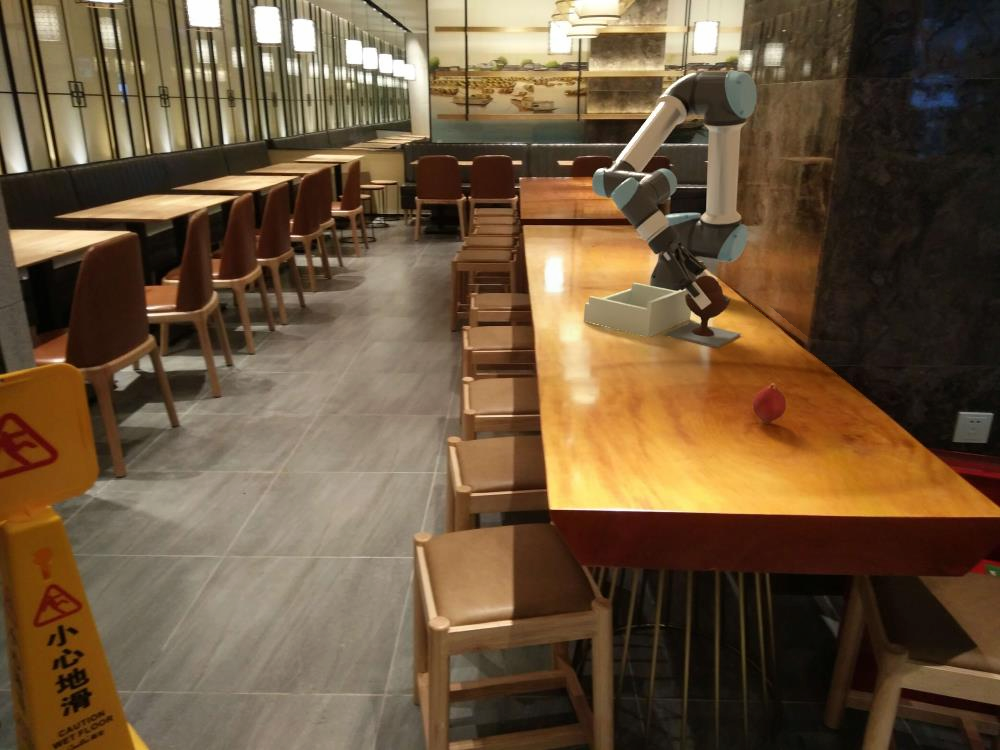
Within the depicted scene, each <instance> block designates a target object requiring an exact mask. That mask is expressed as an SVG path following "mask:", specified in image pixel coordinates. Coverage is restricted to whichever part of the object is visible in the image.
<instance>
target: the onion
mask: <svg viewBox="0 0 1000 750" xmlns="http://www.w3.org/2000/svg"><path fill="white" fill-rule="evenodd" d="M776 385H777V384H775V383H771V384H770V385H768V386H766V387H763V388H762V389H760V390H759V391H758V392H757V393H756V394H755V396H753V398H752V408H753V409H752V410H753V411H754V414H755V415H756V416H757V417H758V418H759V419H760V420H761V421H762V423H764V424H770V423H773V422H774V421H776V420H777V419H779V418H781V417H782V416H783V415H784V414H785V411H786V409H787V403H786V397H785V396H784V395H783V392H781V391H780V390H779V389H778V388H777V386H776Z"/></svg>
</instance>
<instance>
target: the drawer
mask: <svg viewBox="0 0 1000 750" xmlns="http://www.w3.org/2000/svg"><path fill="white" fill-rule="evenodd" d="M686 294H688V292H687V291H686V289H684V290H679V291H674V290H669V289H664V288H659V287H654V286H652V285H650V284H643V283H638V282H632V283H631V288H629V289H625V290H622V291H619V292H617V293H616V292H614V293H613V294H610V295H606V296H604V297H599V296H593V295H592V296H591V295H590V296H589V298H588V302H585V303H584V311H583V312H584V313H583V322H584V321H587V322H591V323H595V324H599V325H603V326H602V327H604V326H607V327H606V328H608V327H610V328H609V329H612V328H614V329H613V330H616V329H619V330H618V331H620V330H622V331H621V332H624V331H627V332H626V333H628V332H631V333H630V334H632V333H634V334H633V335H636V334H638V335H637V336H640V335H642V336H641V337H644V336H645V338H650V337H652V335H653V336H654V335H656V334H659V333H662V332H665V331H666V330H668V329H671V328H673V327H675V325H676V326H678V325H680V324H683V323H684V322H687V321H689V320H691V316H692V315H691V313H692V311H691V310H690V309H689V307H688V306H687V304H686V300H685V295H686ZM587 322H586V323H587ZM591 323H590V324H591ZM595 324H594V325H595ZM599 325H598V326H599Z"/></svg>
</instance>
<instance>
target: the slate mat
mask: <svg viewBox="0 0 1000 750" xmlns="http://www.w3.org/2000/svg"><path fill="white" fill-rule="evenodd" d="M700 325H701V323H695V322H688V323H685V324H683V325H681V326H678V327H677V328H674V329H672V330H669V331H668V332H665V333H664V336H667V337H669V338H674V339H678V340H682V341H687V342H691V343H695V344H699V345H704V346H708V347H712V348H715V349H718V348H720V347H721V346H723V345H726V344H727V343H729V342H731V341H733V340H735V339H738V338H739V337H740V336H741V333H740V332H735V331H732V330H727V329H721V328H717V327H714V326H710V325H708V328H710V329H711V330H712V331H713V332H714V335H713V336H699V335H696V334H694V333H692V331H693V329H695V328H697V327H699V326H700Z"/></svg>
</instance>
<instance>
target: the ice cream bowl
mask: <svg viewBox="0 0 1000 750" xmlns="http://www.w3.org/2000/svg"><path fill="white" fill-rule="evenodd" d="M695 283H696V284H697V285H698V286H699V288H700V289H701V290H702V291H703V293H704V294H705V295H706V296H707V298H708V299H709V300H710V301H711V303H710V304H709V305H708V306H706V307H705V308H703V309H701V308H700V307H699V306H698V304H697V303H696V302H695V301H694V299H693V298H692V297H691V296H690V294H689V293H688V294H686V295H685V300H686V304H687V306H688V307H689V309H690V310H691V313H693V314H694V315H696V316H697V317H699V318H700V326H699V327H697V328H695V329H693V331H692V333H694V334H696V335H699V336H713V335H714V332H713V331H712V330H711V329H710V328H708V326H709V320H710V319H712V318H715V317H718V316H719V315H720V314H722V313H723V312H724V311H726V310H727V308H728V306H729V305H730V303H731V299H732V298H730V297H729V296H727V295H725V294H724V293H723V289H722V287H721V285H720V284H719V281H718V280H717V279H716V278H715V277H714V276H711V275H708V276H701V277H699V278H698V279H696V280H695Z"/></svg>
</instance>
